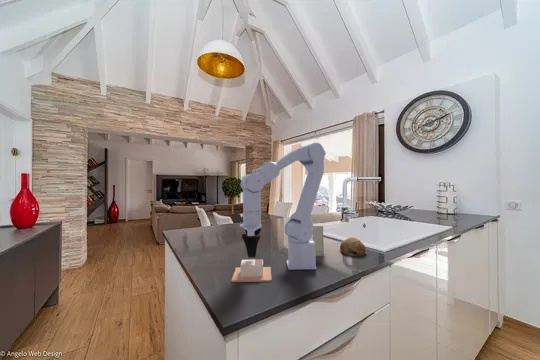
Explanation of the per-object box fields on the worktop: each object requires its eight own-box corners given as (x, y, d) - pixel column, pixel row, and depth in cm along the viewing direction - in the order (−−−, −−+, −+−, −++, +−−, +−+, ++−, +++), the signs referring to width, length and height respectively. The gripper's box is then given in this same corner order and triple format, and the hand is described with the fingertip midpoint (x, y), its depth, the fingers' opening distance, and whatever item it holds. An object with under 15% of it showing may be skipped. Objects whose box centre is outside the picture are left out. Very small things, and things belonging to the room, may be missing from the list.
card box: (242, 270, 73) (242, 259, 73) (263, 269, 73) (262, 259, 73) (240, 276, 68) (240, 265, 68) (263, 276, 68) (263, 264, 68)
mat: (270, 268, 76) (270, 266, 76) (271, 281, 66) (271, 279, 66) (235, 268, 76) (235, 267, 76) (231, 282, 66) (231, 280, 66)
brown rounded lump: (341, 263, 90) (342, 248, 87) (337, 245, 99) (338, 231, 96) (366, 264, 89) (369, 249, 85) (361, 246, 98) (362, 232, 94)
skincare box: (324, 257, 87) (323, 226, 87) (312, 256, 88) (312, 225, 88) (323, 252, 93) (323, 223, 93) (312, 251, 94) (312, 223, 94)
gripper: (241, 208, 78) (242, 246, 78) (236, 214, 64) (237, 261, 63) (261, 208, 78) (262, 246, 78) (261, 214, 64) (261, 260, 64)
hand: (252, 253), depth 71 cm, fingers open, 7 cm apart
